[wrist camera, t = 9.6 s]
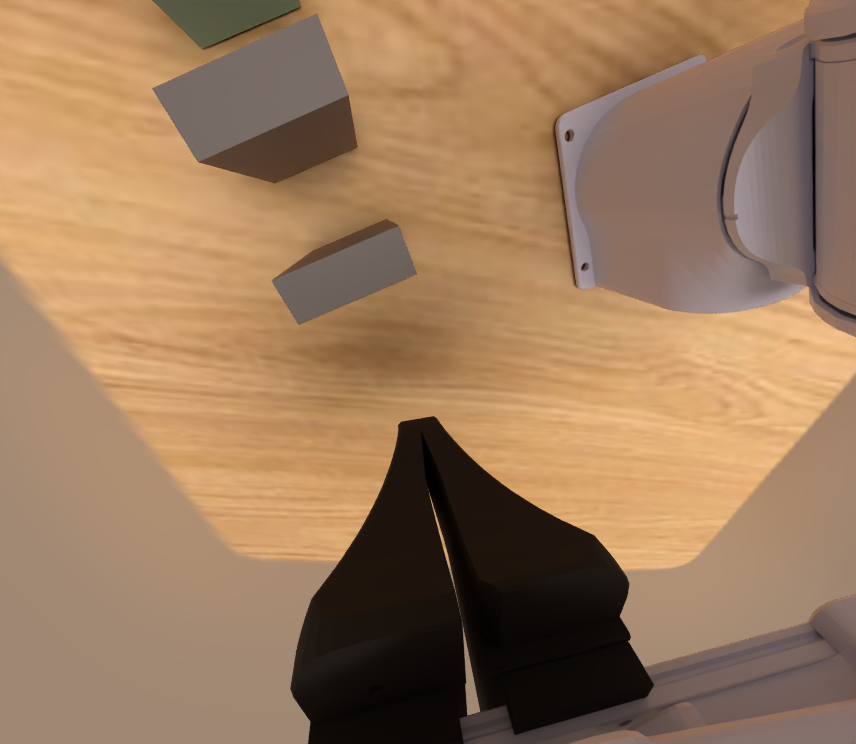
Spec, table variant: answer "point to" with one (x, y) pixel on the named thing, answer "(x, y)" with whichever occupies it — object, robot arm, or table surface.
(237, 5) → the teal domino
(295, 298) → the domino
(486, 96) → the table surface
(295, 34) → the domino
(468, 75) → the table surface
